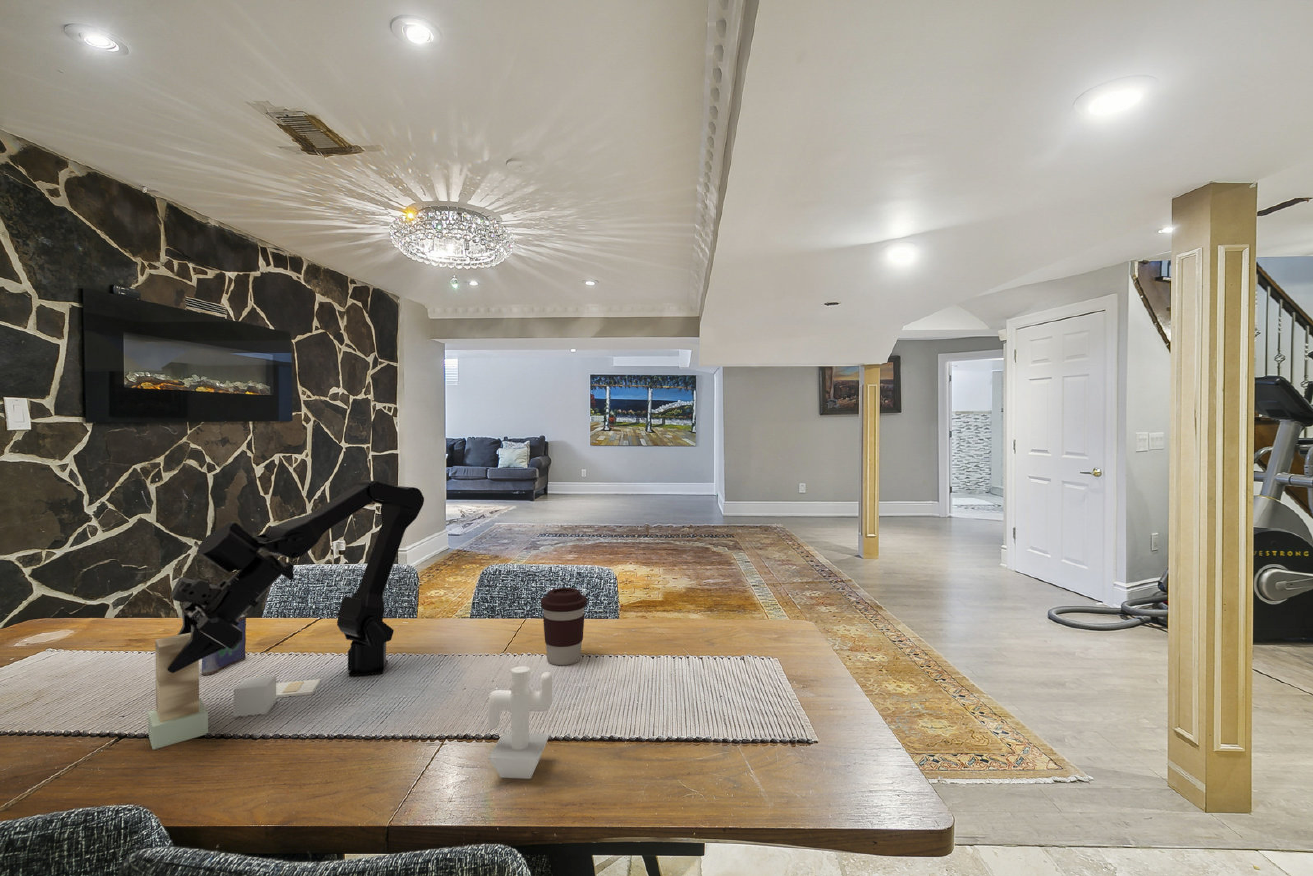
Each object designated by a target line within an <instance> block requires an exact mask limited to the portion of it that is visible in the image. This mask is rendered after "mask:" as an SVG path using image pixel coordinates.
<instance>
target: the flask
mask: <svg viewBox="0 0 1313 876" xmlns="http://www.w3.org/2000/svg"><path fill="white" fill-rule="evenodd" d="M246 620H247V615H246V614H243V615H242V616H241V617H240V618H239V619H238V620H237V621H238V622H239V624H238V625H237V627H238V628H239V629H240V630H241V631H242V641H241V642H240V643H239V644H238V645H237V646H236V647H235V648H234V649H233V650H232V649H230V648H228V647H227V646H226V647H227V648H225V649H224V650H223V649H222V650H219V651H217V652H215V653H213V654H211V655H209V656H207V657H204V658H202V659H201V674H202V676H209V675H211V674H217V673H218V672H220V671H222V669H223V670H225V669H228V668H230V667H231V666H233V665H236V664H237V663H240V662H242V661H245V660H246V658H247V657H246V644H247V643H246V642H247V636H246V633H247V631H246V630H247V621H246ZM224 668H225V669H224Z"/></svg>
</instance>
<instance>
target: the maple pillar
mask: <svg viewBox="0 0 1313 876" xmlns="http://www.w3.org/2000/svg"><path fill="white" fill-rule="evenodd" d="M190 638H191V633H187V634H181V635H178V634H177V635H173V636H172V635H171V636H167V637H162V638H155V641H154V643H155V644H154V646H155V647H154V649H155V650H154V651H155V710H156V713H157V716H158V718H159V721H160V722H163V721H167V720H171V719H175V718H178V717H182V716H186V715H189V714H193V713H197V712H199V699H200V676H199V675H200V667H199V666H200V660H198V661H196V662H194V663H192V664H190V665H188V666H186V667H184V668H182V669H180V670H179V671H177V672H175V673H171V672H169V671H168V670H167V668H168V667H169V666H170V664H171V663H172V662H173V660H174V659H175V658H176V656H177V655H178V654H179V652H180V651H181V650H182V649H183V647H184V646H185V645H186V644H187V642H188V641H189V640H190Z"/></svg>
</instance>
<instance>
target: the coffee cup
mask: <svg viewBox="0 0 1313 876" xmlns="http://www.w3.org/2000/svg"><path fill="white" fill-rule="evenodd" d="M587 599H588V598H587V596H586V595H584V594H582V593H581V591H580V589H577V588H573V587H558V588H557V587H556V588H553V589H550V590H549V591H548V592H547V595H545V596H543V597H542V598H541V599H540V608H541V609H542V610H543V616H542V617H543V618H542V621H543V633H544V635H543V636H544V643H545V647H546V649H545V650H546V660H547V661H548V663H550V664H552V665H555V666H569V665H572V664H573V665H574V664H575V663H577V662H579V661H580V660H581V657H582V642H583V639H584V627H585V608H586V606H587V605H588V600H587Z"/></svg>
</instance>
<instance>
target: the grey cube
mask: <svg viewBox="0 0 1313 876" xmlns="http://www.w3.org/2000/svg"><path fill="white" fill-rule="evenodd" d="M276 683H277V675H276V674H274V675H273V674H271V675H262V676H253V677H244V679H243V680H241V682H239V683H238V684H237V686H236V687H235V688H233V718H239V717H238V716H243V717H249V716H248V715H252V716H258V715H257V714H261V715H267V714H268V712H269V711H271V709H272V708H273V706H275V704H276V703H277V698H276ZM271 707H272V708H271ZM255 714H256V715H255Z"/></svg>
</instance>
